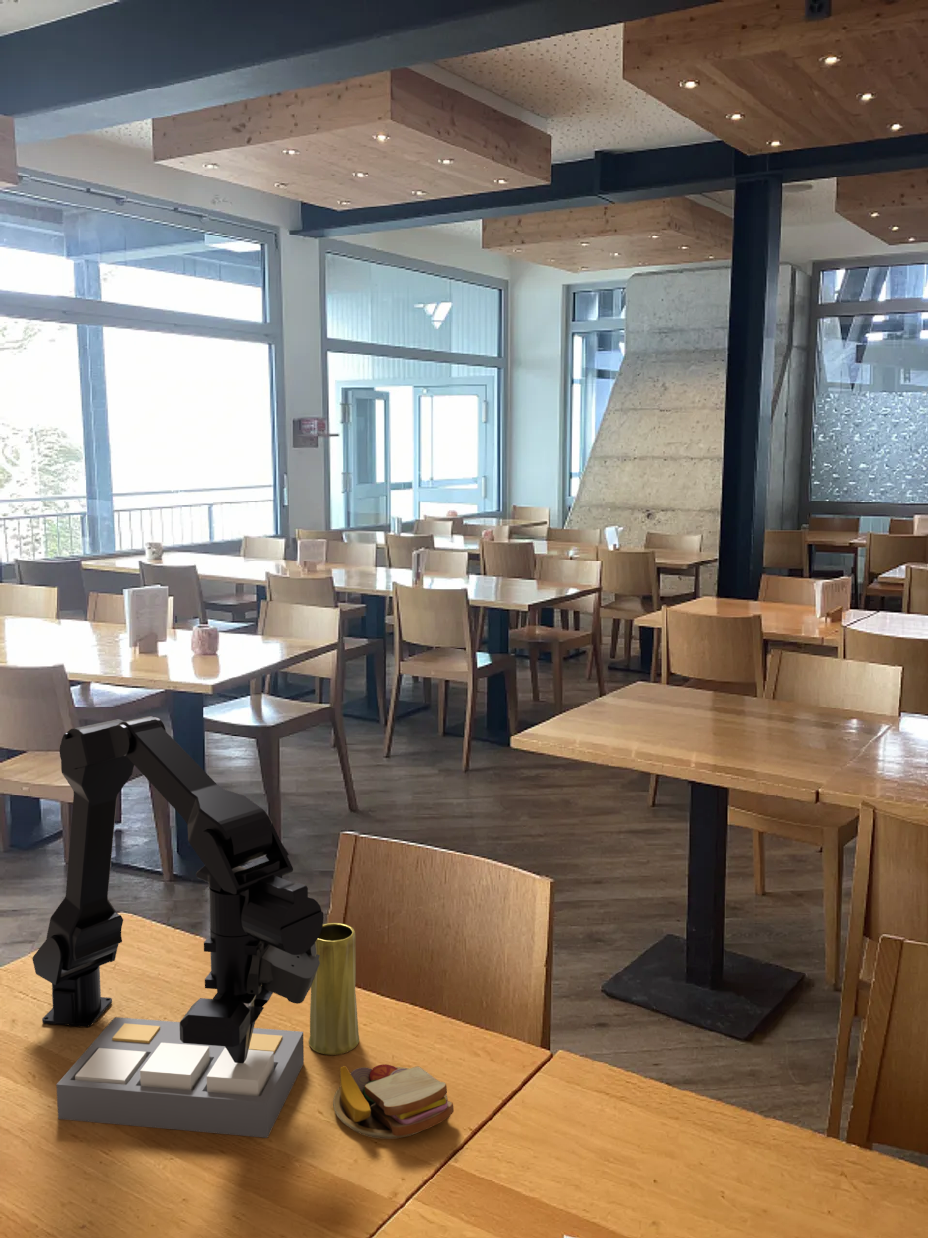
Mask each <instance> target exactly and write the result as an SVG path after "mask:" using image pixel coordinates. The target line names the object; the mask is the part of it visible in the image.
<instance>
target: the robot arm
mask: <svg viewBox="0 0 928 1238" xmlns="http://www.w3.org/2000/svg"><path fill="white" fill-rule="evenodd" d="M166 730H167V729H166V726H165V724H164V722H163V721H162V720H161V718H159V717H158V716H156V717H155V716H154V717H153V716H150V715H148V716H143V717H138V718H134V719H129V720H125V721H124V720H122V719H119V718H117V719H113V720H107V721H103V722H98V723H94V724H89V725H84V726H79V727H74V728H70V729H69V730H68V731H67V732H66V733H64V734H63V736H62V737H61V741H60V742H61V743H60V746H59V757H60V769H61V774H62V776H63V777H64V779H65V780H66V781H67V783H68V784H69V786H70V788H71V789H72V791H73V799H72V813H71V825H70V826H71V827H70V836H69V852H68V862H67V863H68V864H67V876H66V887H65V888H66V889H65V896H64V898H63V899H62V901H61V903H60V904H59V905H58V907H57V908H56V909H55V911H54V912H53V913H52V915H51V917H50V919H49V925H48V929H47V933H46V939H45V940H44V942H43V943H42V945H40V946H39V948H38V949H37V951H36V952H35V954H33V955H32V957H31V958H32V963H33V969H34V971H35V975H37V976H39V977H40V978H42V979H44V980H45V981H47V982H49V983H50V984H51V990H52V991H51V997H52V1008H50V1010H49V1011H48V1012H47V1013H46V1014H45V1015H44V1016H43V1017H42V1018H41V1022H42V1024H49V1025H60V1026H73V1027H74V1026H76V1027H87V1028H88V1027H92V1025H94V1023H95V1022H96V1021H97V1020H98V1019H99V1018H100V1017H101V1015H102V1014H103V1013H104V1012H105V1011H106V1010H107V1009H108V1007H109V1006H110V1005H111V1004H112V1003H113V998H112V997H105V996H104V997H103V996H102V994H101V993H102V992H101V972H100V971H101V970H100V967H101V966H103V965H106V964H108V963H112V962H113V963H114V962H115V961H116V957H117V952H118V947H119V945H120V944H121V943H122V942H123V939H122V926H123V923H124V918H123V917H122V915H121V914H120V913H118V912H117V910H116V909H115V908H114V906H113V904H112V903H111V901H109V888H110V877H111V876H110V875H111V867H112V857H113V845H114V844H113V843H114V834H115V823H116V813H117V802H118V801H117V800H118V795H119V793H120V792H121V790H122V789H123V788H124V787H125V785H126V784H127V782H128V781H129V779H130V778H131V776H132V775H133V772H134V769H135V767H136V769H137V770H138V771H139V772H140V773H141V774H142V775H143V777H145V778H146V779H147V781H148V782H149V783H150V784H152V785H153V787H154V788H155V789H156V790H157V791H158V792H159V794H161V796H162V797H163V798H164V799H165V800H166V801H167V802H168V803H169V804H170V806H172V807H173V809H174V810H176V812H177V813H178V814H179V816H181V817H182V820H184V822H185V824H187V840H188V843H189V845H190V846H191V848H192V849H193V850H194V852H195V853H196V855H197V856H198V858H199V859H200V861H201V862H202V864H203V865H204V866H202V867H201V868H200V869H199V870H197V872H195V875H196V878H197V879H198V880H201V881H203V882H207V883H208V900H209V903H208V904H209V908H208V909H209V910H208V911H209V935H208V937H207V938H206V939H205V941H204V942H203V952H205V953H206V952H207V953H210V972H209V973H208V974H207V975H206V977H205V978H204V989H207V990H216V993H215V995H214V996H213V997H212V998H203V997H200V998H199V999H198V1000H196V1001H195V1002H194V1003H193V1004H191V1007H190V1008H189V1009H188V1011H186V1013H185V1015H184V1016H183V1017H182V1019H181V1020H180V1021H179V1022H180V1040H181V1041H182V1042H183V1043H189V1044H201V1045H214V1046H225V1047H226V1049H227V1051H228V1052H229V1054H230V1056H231V1057H232V1059H233V1061H234V1062H235V1063H244V1062H245V1060H246V1058H247V1054H248V1050H249V1046H250V1042H251V1037H252V1033H253V1029H254V1028H255V1024H256V1021H257V1020H258V1019H259V1018H260V1015H261V1013H262V1012H263V1011H264V1008H265V1007H264V1006H265V1005H266V1004H267V1003H268V1002H269V1000H270V998H271V997H272V996H273V994H276V995H277V996H280V997H283V998H285V999H287V1000H288V1002H290V1003H292V1004H298V1005H299V1004H302V1003H303V1002H305V999H306V997H307V996H308V993H309V991H311V985H312V983H313V980H314V977H315V975H316V972H317V969H318V967H319V965H320V961H319V957H320V955H318V954H316V946H315V942H316V940H317V939H318V937H319V935H320V933H321V930H322V926H323V924H324V912H323V911H322V907H321V906H320V904H319V902H318V901H317V900H316V899H315V898H313V897H310V896H309V891H308V890H309V888H308V885H306V884H303V883H302V882H301V883H300V882H293V881H290V880H287V879H284V878H283V876H286V875H289V874H291V873H293V871H294V867H293V865H292V863H291V861H290V858H289V855H290V854H289V853H288V851H287V849H286V848H285V846H284V844H283V843H282V841H281V838H280V837H279V835H278V833H277V830H276V828H275V826H274V824H273V821H272V820H271V817H270V816H269V814H267V812H266V811H265V810H264V809H263V808H262V807H261V806H260V805H258V804H256V803H255V802H254V801H253V800H251V799H250V798H248V797H247V796H246V795H243V794H240V793H238V792H234V791H231V790H227V789H225V788H223V787H222V786H221V785H219V784H217V782H216V781H214V780H213V778H212V777H211V776H210V775H209V774H208V773H207V772H206V771H205V770H204V769H203V768H202V767H201V766H200V765H199V764H198V763H197V762H196V761H195V760H194V759H193V758H192V757H191V756H190V755H189V754H188V753H187V752H186V751H185V750H184V749H183V748H182V747H181V745H180V744H179V743H178V742H177V741H175V739H174V738H172V736H171V735H170V734H169V733H168V732H167V731H166ZM264 857H266V858H267V861H264V862H262V863H258V864H255V865H254V866H251V867H249V868H247V867H244V866H243V865H246V864H249V863H252V862H255V861H257V860H260V859H263V858H264Z"/></svg>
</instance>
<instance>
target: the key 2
mask: <svg viewBox="0 0 928 1238" xmlns="http://www.w3.org/2000/svg"><path fill="white" fill-rule="evenodd" d="M273 1072H274V1052H273V1051H260V1050H248V1054H247V1058H246V1060H245V1062H244V1063H235V1062H234V1061H233V1059H232V1057H231V1056H230V1054H229V1052H228V1051H227V1049H226V1048H224V1050H223V1051H222V1053H221V1055H220V1056H219V1058H218V1059H217V1061H216V1062H215V1064H214V1066H213V1067H212V1069H211V1070H210V1072H209V1073H208V1075H207V1092H217V1093H228V1094H240V1095H252V1096H261V1094H262V1092H263V1091H264V1089H265V1087H266V1085H267V1083H268V1081H269V1079H270V1077H271V1075H272V1074H273Z"/></svg>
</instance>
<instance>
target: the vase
mask: <svg viewBox="0 0 928 1238" xmlns="http://www.w3.org/2000/svg"><path fill="white" fill-rule="evenodd" d="M315 946H316V954H318V955H320V957H319V961H320V965H319V967H318V969H317V972H316V975H315V977H314V980H313V983H312V985H311V988H310V1006H309V1038H308V1045H309V1047H310V1048H311V1049H312V1050H313V1051H314V1052H316V1053H319V1054H322V1055H325V1056H326V1055H327V1056H337V1055H342V1054H345V1053H349V1052H350V1051H352V1050H353V1049H355V1048H356V1047H357V1045H358V1044H359V1042H360V1035H359V1022H358V1008H357V1005H358V1004H357V996H356V995H357V994H356V931H355V929H354V927H352V926H350V925H349V924H346V923H341V922H329V923H323V926H322V930H321V933H320V935H319V937H318V939H317V940H316V942H315Z"/></svg>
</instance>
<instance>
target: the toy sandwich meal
mask: <svg viewBox="0 0 928 1238" xmlns="http://www.w3.org/2000/svg"><path fill="white" fill-rule="evenodd" d="M339 1081H340V1083H339V1087H338V1088H337V1090H336V1092H335V1093H334V1096H333V1101H332V1102H333V1103H332V1105H333V1110H334V1113H335V1114H336V1116H337V1118H338V1119H339V1120H340V1121H341V1123H343V1124H344V1125H345V1126H347V1127H348V1128H349V1129H351V1130H352V1131H354V1132H356V1133H358V1134H360V1135H363V1136H366V1137H370V1138H375V1139H381V1140H382V1139H384V1140H387V1139H388V1140H389V1139H390V1140H391V1139H393V1140H394V1139H401V1138H407V1137H410V1136H413V1135H416V1134H418V1133H421V1132H422V1131H425V1130H427V1129H430V1128H432V1127H434V1126H436V1125H438V1124H439V1123H442V1122H443V1121H445V1120H447V1119H448V1118H450V1116H452V1114H453V1113H454V1111H455V1110H454V1103H453V1102H452V1101H449V1100H448V1095H447V1092H448V1090H447V1089H448V1087H447V1083H446V1082H444V1081H440V1080H439V1079H437V1078H435V1077H434V1076H433V1075H432V1074H430V1073H429V1072H428V1071H426V1070H425V1069H424V1068H422V1067H420V1066H418V1065H417V1066H412V1067H409V1068H408V1067H401V1066H394V1065H391V1064H387V1063H386V1064H378V1065H376V1066H374V1067H373V1068H370V1067H364V1066H363V1067H358V1068H356V1069H353V1070H352V1071H351V1072H350V1071H349V1069H348V1067H347V1066H345V1065H343V1066H341V1067H339Z"/></svg>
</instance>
